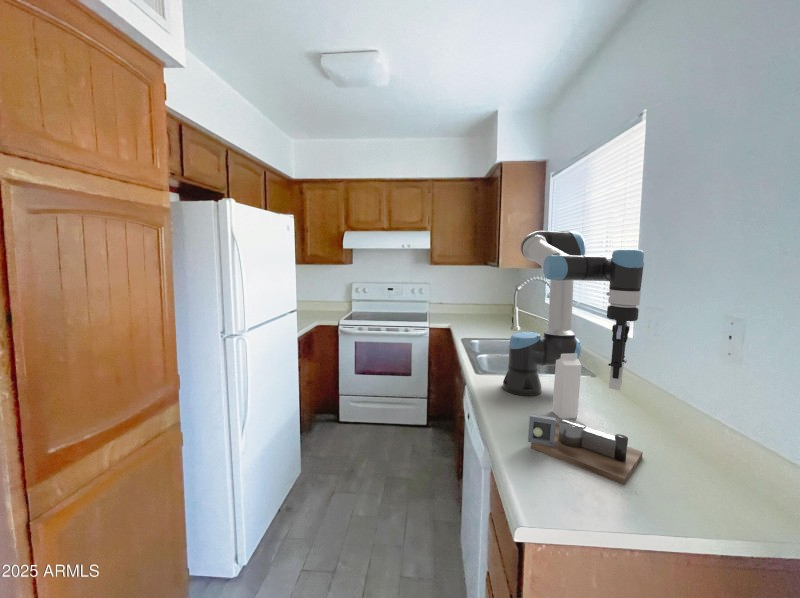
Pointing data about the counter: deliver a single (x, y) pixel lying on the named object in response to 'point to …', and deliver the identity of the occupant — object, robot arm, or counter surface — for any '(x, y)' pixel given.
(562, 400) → the milk
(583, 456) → the stand board
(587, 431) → the crank handle
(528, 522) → the counter surface
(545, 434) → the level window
